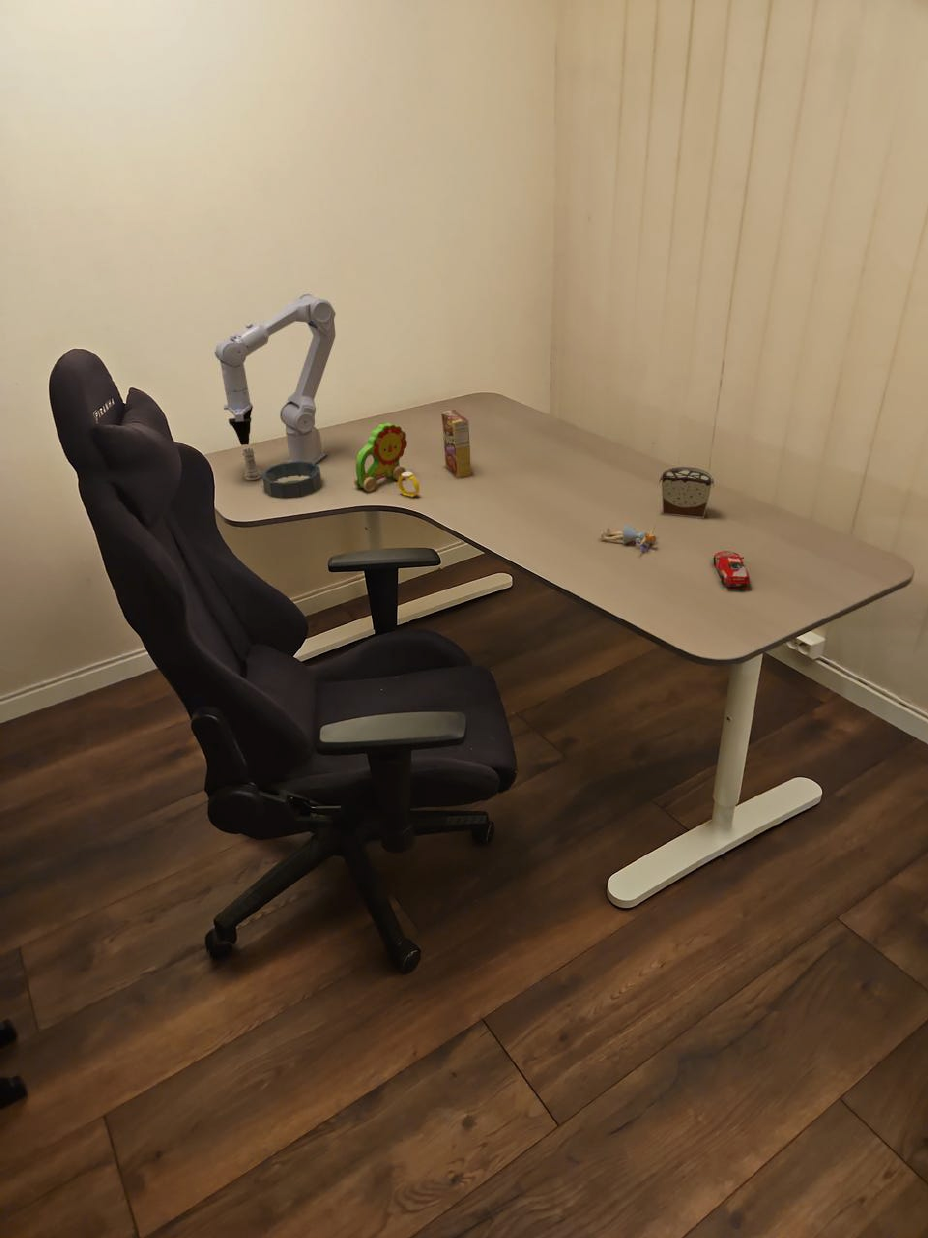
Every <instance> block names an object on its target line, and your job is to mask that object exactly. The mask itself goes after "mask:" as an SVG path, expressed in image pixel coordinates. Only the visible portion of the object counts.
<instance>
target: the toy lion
mask: <svg viewBox="0 0 928 1238" xmlns="http://www.w3.org/2000/svg"><path fill="white" fill-rule="evenodd" d="M406 438H407V433H406V432H405V431H404V430H403V429H402V427H401V426H400V425H396V424H394V423H391V422H385V423H379V424H378V425H377V426H376V428H375V429H373V430H372V431H371V434H370V436H369V437H368V440H367V444H366V445H365V446H363V447H362V448H361V449H360V451H358V452H359V453H358V454H357V456H356V459H355V460H356V461H355V476H354V478H353V484H354V486H355V487H357V488H359V489H363V490H365V491H366V492H368V493H369V492H370V493H371V492H374V491H375V490H376V488H377V485H378V481H380V480H382V479H385V478H393V479H394V480H397V481H398V480H399V477H400V476H402V473H404V472H407V471H406V468H405V467H403V466H401V465H400V460H401V458H402V457H403V456H404V454H405V449H406V448H407V446H408V445H407V444H408V443H407V439H406ZM370 456H372V457H373V462H372V464H371V465H370V466H369V467H368V469H367V470H366V461H367V459H368V458H369V457H370Z"/></svg>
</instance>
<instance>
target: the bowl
mask: <svg viewBox="0 0 928 1238" xmlns="http://www.w3.org/2000/svg"><path fill="white" fill-rule="evenodd" d="M261 477H262V478H261V479H262V485H263V490H264V493H266V494H267V495H268V496H270V497H272V498H279V499H293V498H294V499H295V498H302V497H305V496H308V495H311V494H314V493H316V491H318V490H319V489H320V488H322V477H321V469H320V466H319V465H317V464H316V463H315V464H313V463H311V462H302V461H295V462H287V461H285V462H281V463H277V464H274V465H272V466H270V467H267V469H265V470H264V471H263V472H262V476H261Z"/></svg>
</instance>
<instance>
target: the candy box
mask: <svg viewBox="0 0 928 1238" xmlns="http://www.w3.org/2000/svg"><path fill="white" fill-rule="evenodd" d="M441 423H442V425H441V426H442V438H443V451H444V465H445V467H446V468H447V469H448V471H450V472H451V473H452V474H453V475H454V476H455V477H456V478H457V479H459V478H464V477H468V476H471V475H472V468H471V467H472V466H471V449H470V448H471V446H470V445H471V444H470V430H469V429H470V428H469V419H467V418H466V417H465V416H463V415H462V414H460V413H459V412H458V411H456V410H455V409H453V410H448V411H447V410H446V411H443V412H441Z"/></svg>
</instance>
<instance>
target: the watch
mask: <svg viewBox="0 0 928 1238" xmlns="http://www.w3.org/2000/svg"><path fill="white" fill-rule="evenodd" d="M404 479H409V480H410V481H411V482H412V483H413V485H414V493H412V492H411V493H410V492H408V491H406V489H405V487H404V486H403V480H404ZM397 487H398V489H399V492H400V493H401V494H402V495H403V496H406V497H410V498H415V497H416V496H417V495H418V494H420V493H419V492H420V483H419V481H418V480H417V477H415V476H414V473H413V472H412V471H406V472H404V473H402V476H400V477H399V480H397Z"/></svg>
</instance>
